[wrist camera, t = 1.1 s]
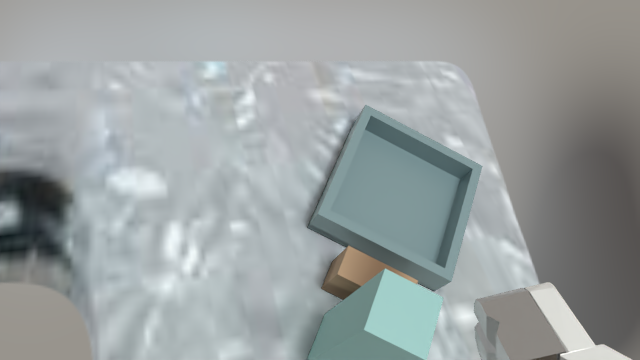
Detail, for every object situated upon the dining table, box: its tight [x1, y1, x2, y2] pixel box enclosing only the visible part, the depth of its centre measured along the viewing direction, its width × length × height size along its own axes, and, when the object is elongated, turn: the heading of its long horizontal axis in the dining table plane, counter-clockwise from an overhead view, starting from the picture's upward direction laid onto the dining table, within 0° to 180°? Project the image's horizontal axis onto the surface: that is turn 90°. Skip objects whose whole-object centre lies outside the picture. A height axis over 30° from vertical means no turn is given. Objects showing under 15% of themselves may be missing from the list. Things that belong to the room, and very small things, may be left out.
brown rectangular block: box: [321, 246, 418, 300], centre depth 44 cm, size 6×2×4 cm, turn 68°
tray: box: [307, 105, 482, 291], centre depth 49 cm, size 12×12×3 cm
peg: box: [307, 269, 443, 360], centre depth 38 cm, size 4×4×12 cm
